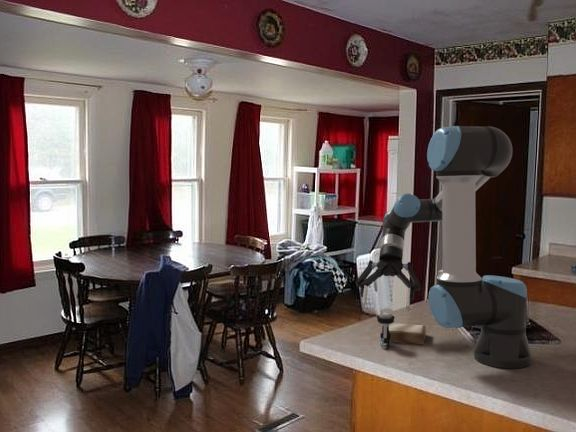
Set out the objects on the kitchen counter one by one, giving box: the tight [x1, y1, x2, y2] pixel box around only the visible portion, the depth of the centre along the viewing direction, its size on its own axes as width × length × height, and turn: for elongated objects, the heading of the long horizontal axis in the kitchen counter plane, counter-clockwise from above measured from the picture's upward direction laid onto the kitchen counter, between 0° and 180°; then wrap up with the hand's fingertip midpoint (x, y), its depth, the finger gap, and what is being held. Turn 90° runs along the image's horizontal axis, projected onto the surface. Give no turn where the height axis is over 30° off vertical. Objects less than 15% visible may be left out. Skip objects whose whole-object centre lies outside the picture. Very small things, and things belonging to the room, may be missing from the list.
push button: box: [376, 311, 395, 349], centre depth 173 cm, size 7×5×10 cm
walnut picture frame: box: [388, 322, 427, 345], centre depth 181 cm, size 12×10×3 cm
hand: (385, 306), depth 178 cm, fingers open, 13 cm apart
